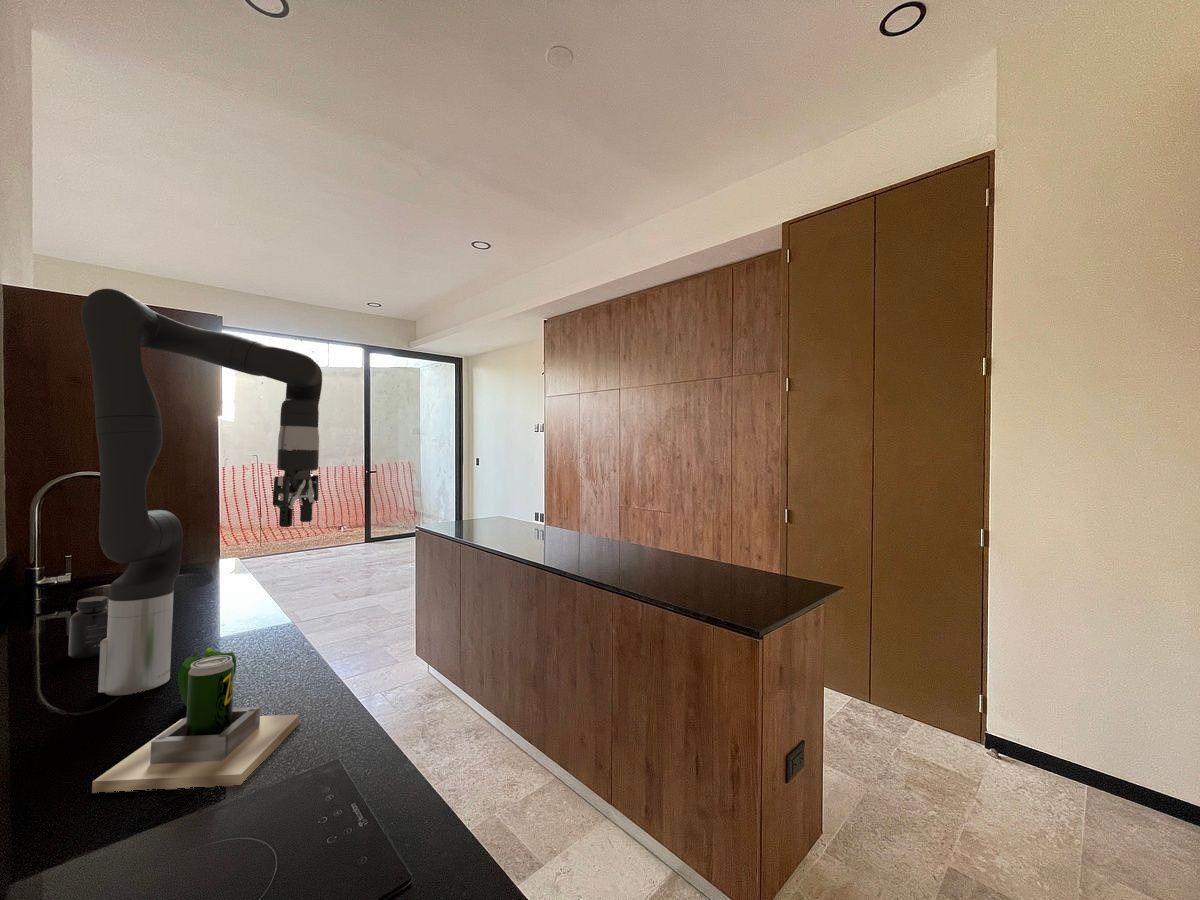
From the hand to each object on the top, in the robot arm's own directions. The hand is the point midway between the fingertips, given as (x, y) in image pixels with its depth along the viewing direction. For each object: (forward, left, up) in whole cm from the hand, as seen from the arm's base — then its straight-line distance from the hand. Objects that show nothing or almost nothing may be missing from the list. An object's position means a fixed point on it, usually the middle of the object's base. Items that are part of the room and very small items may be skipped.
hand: (296, 524), depth 106 cm
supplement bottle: (-47, +11, -30) cm, 57 cm away
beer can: (+4, -32, -29) cm, 43 cm away
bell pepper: (-7, -15, -30) cm, 35 cm away
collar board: (+4, -32, -30) cm, 44 cm away
